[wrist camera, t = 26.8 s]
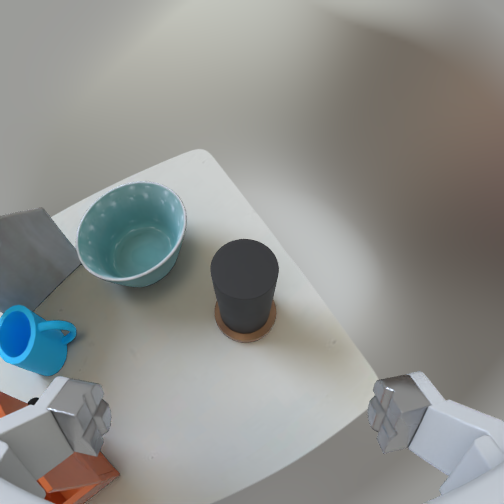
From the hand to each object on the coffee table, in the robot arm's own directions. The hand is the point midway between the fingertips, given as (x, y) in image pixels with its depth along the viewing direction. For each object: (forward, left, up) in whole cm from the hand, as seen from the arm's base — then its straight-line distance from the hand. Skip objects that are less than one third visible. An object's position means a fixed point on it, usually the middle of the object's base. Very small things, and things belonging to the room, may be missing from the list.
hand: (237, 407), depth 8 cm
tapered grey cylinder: (+9, -10, -22) cm, 26 cm away
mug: (+25, +14, -30) cm, 41 cm away
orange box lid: (+10, +18, -17) cm, 27 cm away
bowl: (+26, -6, -30) cm, 39 cm away
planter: (+37, +10, -30) cm, 48 cm away
